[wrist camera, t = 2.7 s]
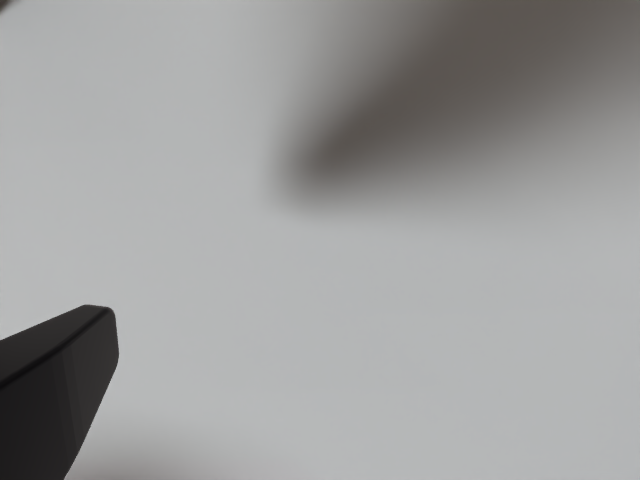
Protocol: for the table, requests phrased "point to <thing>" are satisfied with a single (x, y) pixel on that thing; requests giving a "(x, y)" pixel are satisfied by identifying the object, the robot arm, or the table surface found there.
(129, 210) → the table surface
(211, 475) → the table surface
